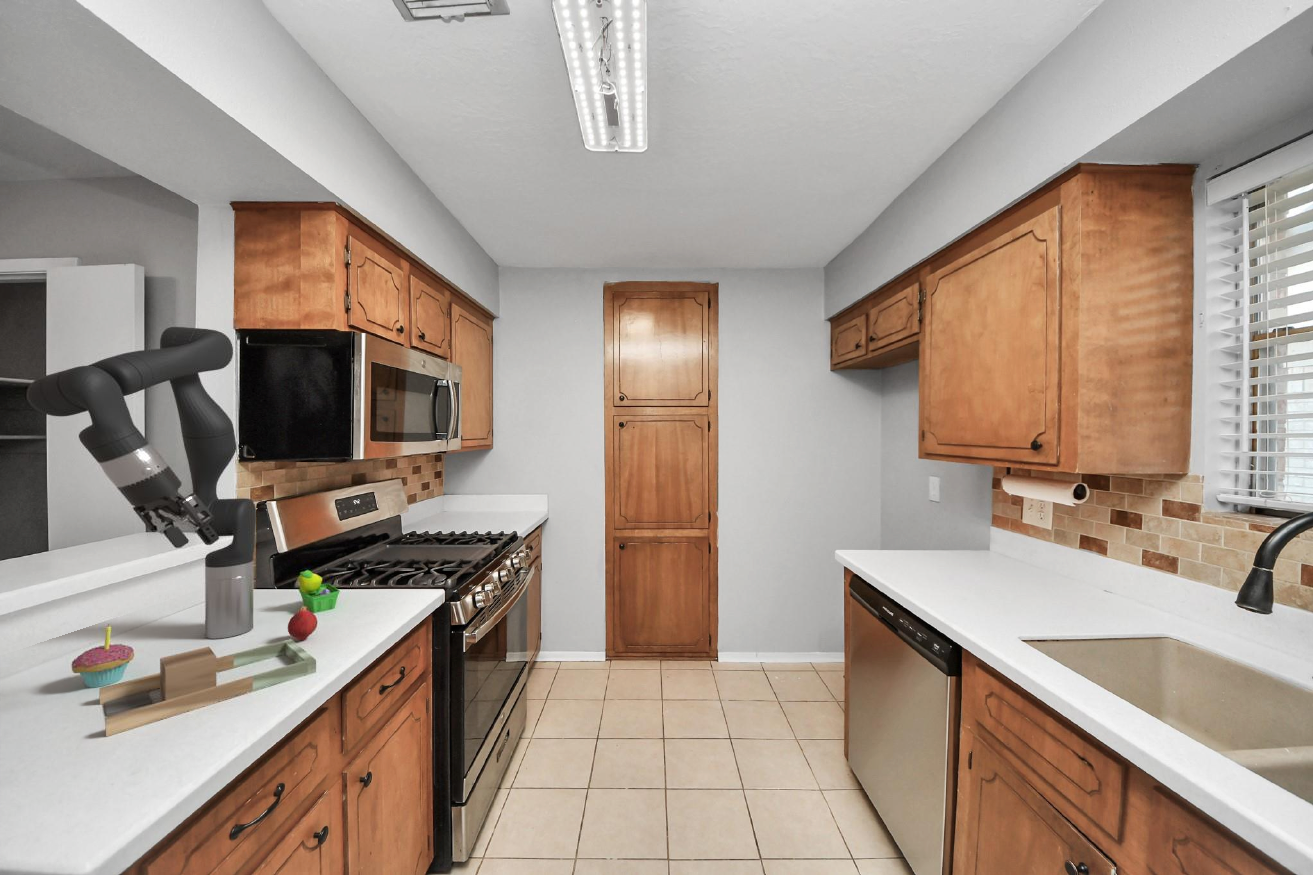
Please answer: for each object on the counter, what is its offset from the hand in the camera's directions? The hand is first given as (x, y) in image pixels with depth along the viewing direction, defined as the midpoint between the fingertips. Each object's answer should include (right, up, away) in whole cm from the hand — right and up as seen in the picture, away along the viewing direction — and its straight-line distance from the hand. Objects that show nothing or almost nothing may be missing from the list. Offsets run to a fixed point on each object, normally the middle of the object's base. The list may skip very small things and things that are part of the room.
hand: (198, 543), depth 99 cm
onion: (+4, -28, +23) cm, 37 cm away
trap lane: (+2, -28, 0) cm, 28 cm away
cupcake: (-21, -28, +2) cm, 35 cm away
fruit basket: (-8, -28, +46) cm, 54 cm away
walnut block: (0, -28, -2) cm, 28 cm away
